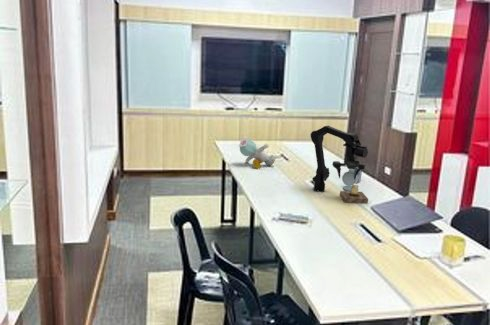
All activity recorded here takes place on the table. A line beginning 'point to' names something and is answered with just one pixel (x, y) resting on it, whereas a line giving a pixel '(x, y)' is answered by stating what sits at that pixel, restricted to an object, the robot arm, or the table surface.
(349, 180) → the pocket watch
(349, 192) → the jig block
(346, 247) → the table surface
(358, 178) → the light bulb box
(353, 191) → the gold cylinder
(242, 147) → the toy
